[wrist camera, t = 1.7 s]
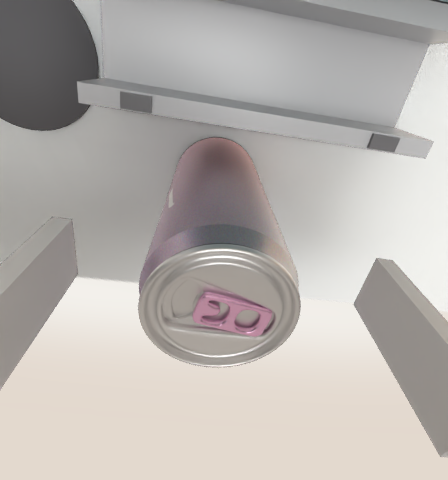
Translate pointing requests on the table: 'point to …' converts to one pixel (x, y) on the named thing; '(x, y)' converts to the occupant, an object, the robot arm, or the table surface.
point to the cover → (441, 1)
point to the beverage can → (218, 264)
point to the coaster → (43, 62)
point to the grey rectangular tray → (271, 65)
